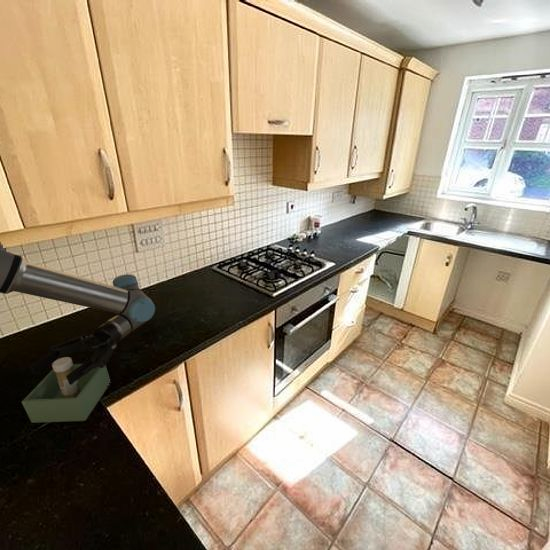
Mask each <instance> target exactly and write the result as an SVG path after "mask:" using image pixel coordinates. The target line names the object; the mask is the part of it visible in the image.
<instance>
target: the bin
mask: <svg viewBox="0 0 550 550" xmlns="http://www.w3.org/2000/svg"><path fill="white" fill-rule="evenodd" d="M82 364H83V363H73V368H74V370H75V369H76V368H78V367H79V366H81V365H82ZM110 378H111V377H110V374H109V371H108V369H107V364H106V365H105V367H104V368H100V367H97V368H94V369H92V370H91V371H90V372H88V373H87V374H85V375H83V376H82V377H81V378H79V379H78V384H79V388H80V391H81V392H80V394H79V395H78V396H77V398H64V397H63V394H62V392H61V389H60V386H59V383H58V379H57V376H56V373H55V371H54V370H53V369H51V370H50V371H49V373H48V374H47V375H46V376H44V378H43V379H42V380H41V381H40V382H39V383H38V384H37V385H36V386H35V387H34V388H33V389H32V390H31V392H30V393H28V395H26V397H24V398H23V400H21V404H22V406H23V408H24V410H25V412H26V414H27V417H28V418H29V421H30V423H32V424H34V423H35V424H36V423H38V424H39V423H61V422H85V421H87V419H88V418H89V416H90V414H91V413H92V412H93V411H94V408H95V407H96V405H97V404H98V402H99V401H100V400H101V398H102V396H103V395H104V393H105V392H106V390H107V389H108V387H109V386H110V384H111V382H112V381H111V379H110ZM110 381H111V382H110ZM109 383H110V384H109ZM107 386H108V387H107Z"/></svg>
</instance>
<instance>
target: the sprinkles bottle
mask: <svg viewBox="0 0 550 550" xmlns="http://www.w3.org/2000/svg"><path fill="white" fill-rule="evenodd" d="M51 364H52V365H51V367H52V370H54V371H55V373H56V376H57V379H58V383H59V386H60V389H61V392H62V394H63V397H64V398H77V396H78V395H79V394H80V392H81V391H80V388H79V384H78V380H77V381H75V382H74V383H73V384H72V385H71V384H69V382H68V380H67V377H66V376H67V375H68V374H70V373H71V372H72V371H74V368H73V364H74V363H73V359H72V357H69V356H62V357H59V358H57V360H55V361H54V362H52V363H51Z"/></svg>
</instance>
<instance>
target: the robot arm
mask: <svg viewBox="0 0 550 550" xmlns="http://www.w3.org/2000/svg"><path fill="white" fill-rule="evenodd" d="M13 292H15V293H20V294H24V295H28V296H35V297H40V298H44V299H49V300H52V301H58V302H62V303H67V304H72V305H75V306H81V307H85V308H86V307H87V308H90V309H95V310H98V311H104V312H108V313H114V314H116V315H115V316H113V317H112V318H110V319H108V320H107V321H105V322H104V323H102V324H100V325H99V326H98V327H96V328H95V329H94V331H93V333H92V334H91V335H89V336H86V334H85V333H81V334H80V335H78V336H76V337H73V338H71V339H67V340H65V341H63V342H60V343H57V344H54V345H52V346H50V347H48V350H49V352H48V353H47V354H45V355H44V356H42V357H41V358H40V359H38V360H36V361H35V362H33V363H31V364H30V365H29V369H30V370H31V372H32V374H33V375H36V374H37V373H39V372H41V371H42V370H44V369H45V368H47V367H48V366H50V365H51V364H53V362H55V361H56V360H58V358H61V357H65V356H67V355H70V354H74V353H77V352H81V353H82V352H90V353H92V354H91V358H90V359H89V360H86V361H84V362H83V363H81V364H82V365H81V366H79V367H78V368H76V369H75V370H74V371H72V372H71V373H70V374H68V375H67V376H66V377H67V380H68V382H69V384H71V385H72V384H73V383H74V382H75V381H77V380H78V379H79V378H81V377H82V376H83V375H85V374H87V373H88V372H90V371H91V370H92V369H94V368H97V367H100V368H104V367H105V365H106V366H107V364H108V361H109V359H110V358H111V356H112V355H113V353H114V352H115V350H117V349H118V345H117V343H119V342H120V341H121V340H122V339H124V338H125V337H126V336H127V335H129V334H130V333H132V332H133V331H135V330H136V329H138V328H139V327H140V326H142V325H144V324H145V323H146V322H148V321H150V320H151V319H152V318H153V317H154V315H155V312H156V305H155V304H154V301H153V300H152V299H151V298H150V297H148V295H147V294H146V293H144V292H143V289H141V288H140V287H139V282H138V279H137V277H136V275H135V274H130V273H129V274H128V273H127V274H122V275H119V276H116V277H115V278H113V280H112V285H111V284H108V283H104V282H100V281H96V280H93V279H89V278H85V277H82V276H79V275H75V274H71V273H68V272H64V271H61V270H57V269H53V268H50V267H46V266H42V265H39V264H35V263H32V262H28V261H27V260H26V259H25V258H24V256H22V255H19V254H14V253H12V252H9V251H7V247H6V248H3V245H2V244H1V242H0V294H3V295H8V294H11V293H13Z"/></svg>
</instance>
